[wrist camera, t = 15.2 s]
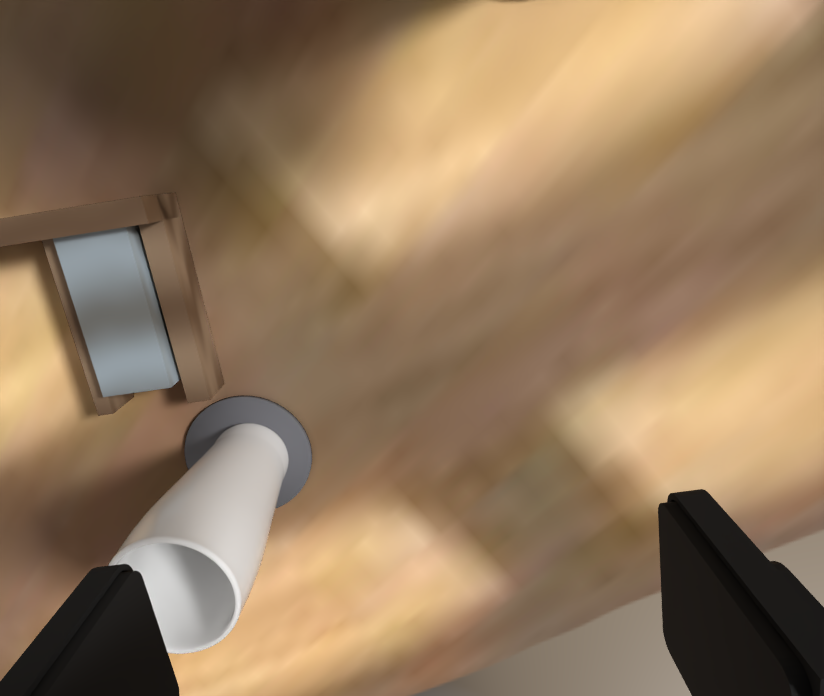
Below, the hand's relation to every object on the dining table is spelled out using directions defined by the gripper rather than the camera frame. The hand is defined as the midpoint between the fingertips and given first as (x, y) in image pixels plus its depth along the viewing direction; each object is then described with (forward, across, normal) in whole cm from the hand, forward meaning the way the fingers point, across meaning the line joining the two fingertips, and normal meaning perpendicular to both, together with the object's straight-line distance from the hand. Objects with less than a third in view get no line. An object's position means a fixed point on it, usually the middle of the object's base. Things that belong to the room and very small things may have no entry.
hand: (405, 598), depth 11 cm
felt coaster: (+30, +14, +10) cm, 35 cm away
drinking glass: (+30, +13, +10) cm, 34 cm away
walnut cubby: (+30, +23, -1) cm, 38 cm away
